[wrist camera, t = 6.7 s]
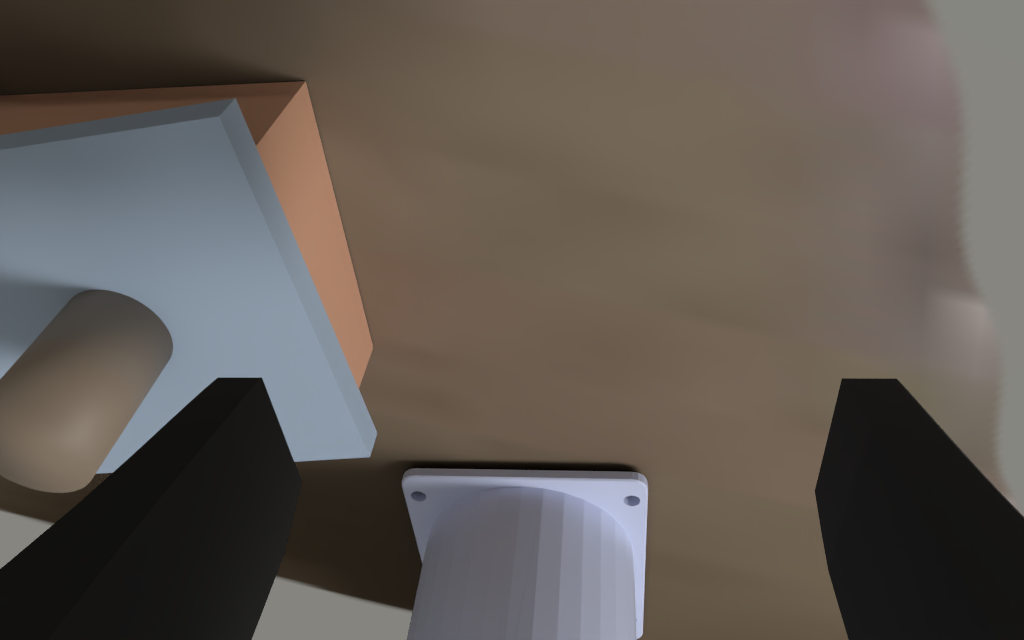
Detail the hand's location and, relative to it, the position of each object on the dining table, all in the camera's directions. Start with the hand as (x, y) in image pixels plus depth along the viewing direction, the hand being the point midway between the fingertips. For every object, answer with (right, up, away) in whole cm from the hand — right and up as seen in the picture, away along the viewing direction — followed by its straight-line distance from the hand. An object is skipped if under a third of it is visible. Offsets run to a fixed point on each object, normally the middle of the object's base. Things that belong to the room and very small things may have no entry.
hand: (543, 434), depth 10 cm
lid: (-9, +2, +8) cm, 12 cm away
